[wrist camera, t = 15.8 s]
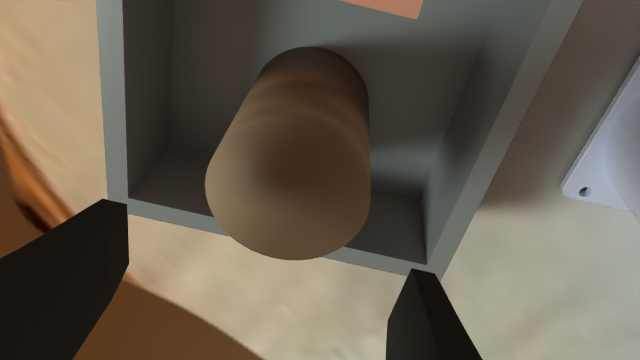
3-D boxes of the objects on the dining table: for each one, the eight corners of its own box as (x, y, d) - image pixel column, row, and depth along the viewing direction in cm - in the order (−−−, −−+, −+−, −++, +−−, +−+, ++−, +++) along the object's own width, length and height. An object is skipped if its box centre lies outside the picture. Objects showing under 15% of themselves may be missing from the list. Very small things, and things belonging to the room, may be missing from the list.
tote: (632, -264, 13) (752, -329, 9) (426, 209, 23) (439, 283, 19) (165, -391, 13) (64, -521, 9) (157, 147, 22) (108, 209, 18)
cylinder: (384, 65, 19) (393, 148, 13) (350, 167, 21) (344, 275, 15) (263, 32, 18) (215, 101, 12) (244, 140, 21) (197, 239, 15)
